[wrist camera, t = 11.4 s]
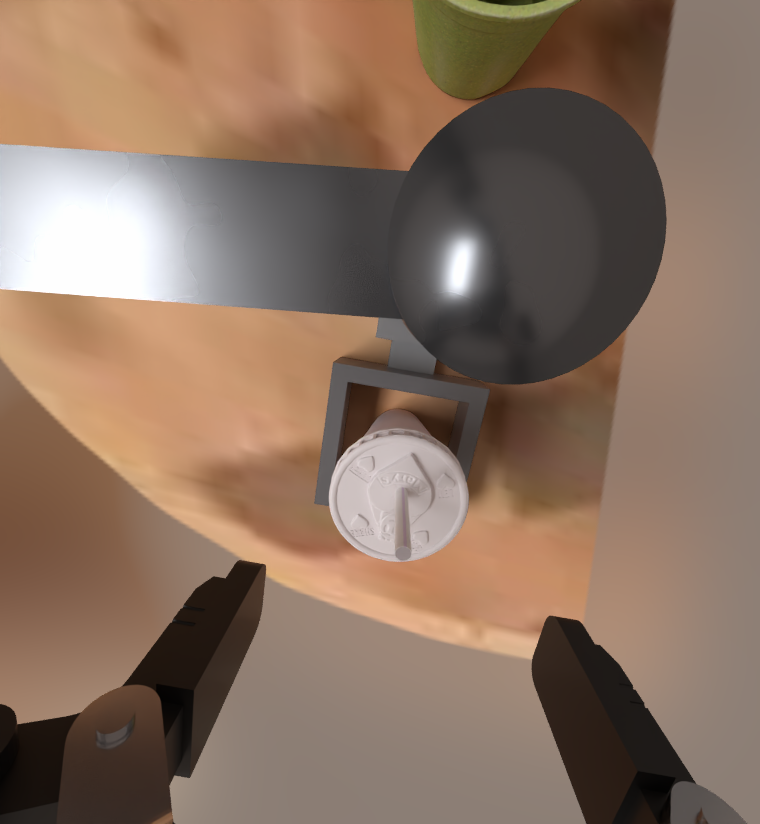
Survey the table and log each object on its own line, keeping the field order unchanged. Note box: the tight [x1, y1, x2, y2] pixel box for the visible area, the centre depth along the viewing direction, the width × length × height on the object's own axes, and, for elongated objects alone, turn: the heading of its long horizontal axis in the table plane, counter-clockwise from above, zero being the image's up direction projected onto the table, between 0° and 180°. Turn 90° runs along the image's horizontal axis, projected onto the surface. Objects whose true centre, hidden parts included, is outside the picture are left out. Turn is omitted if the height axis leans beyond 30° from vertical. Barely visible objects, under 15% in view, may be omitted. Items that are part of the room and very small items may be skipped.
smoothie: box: [329, 409, 469, 562], centre depth 19 cm, size 6×6×14 cm
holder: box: [314, 318, 490, 506], centre depth 17 cm, size 16×9×16 cm, turn 170°
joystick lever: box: [0, 88, 666, 384], centre depth 6 cm, size 16×4×3 cm, turn 86°
